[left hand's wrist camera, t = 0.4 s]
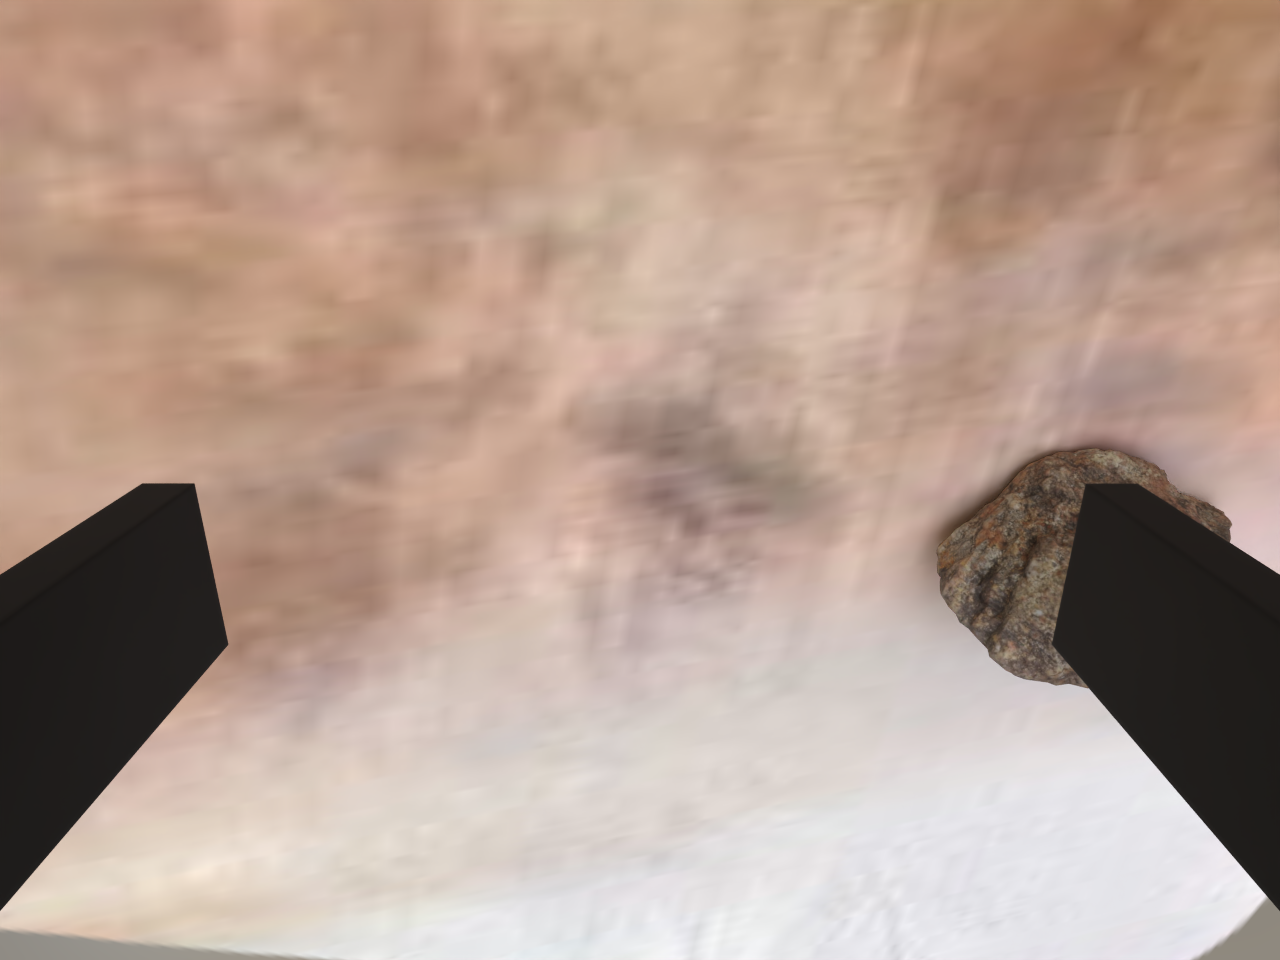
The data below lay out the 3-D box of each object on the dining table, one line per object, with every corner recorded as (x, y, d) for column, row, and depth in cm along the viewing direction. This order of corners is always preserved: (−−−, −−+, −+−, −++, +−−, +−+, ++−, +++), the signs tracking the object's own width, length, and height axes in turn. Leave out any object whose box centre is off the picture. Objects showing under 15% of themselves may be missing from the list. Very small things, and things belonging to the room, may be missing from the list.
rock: (1130, 643, 46) (1234, 486, 42) (1246, 750, 38) (1386, 568, 34) (900, 577, 43) (992, 403, 39) (975, 677, 35) (1098, 471, 31)
